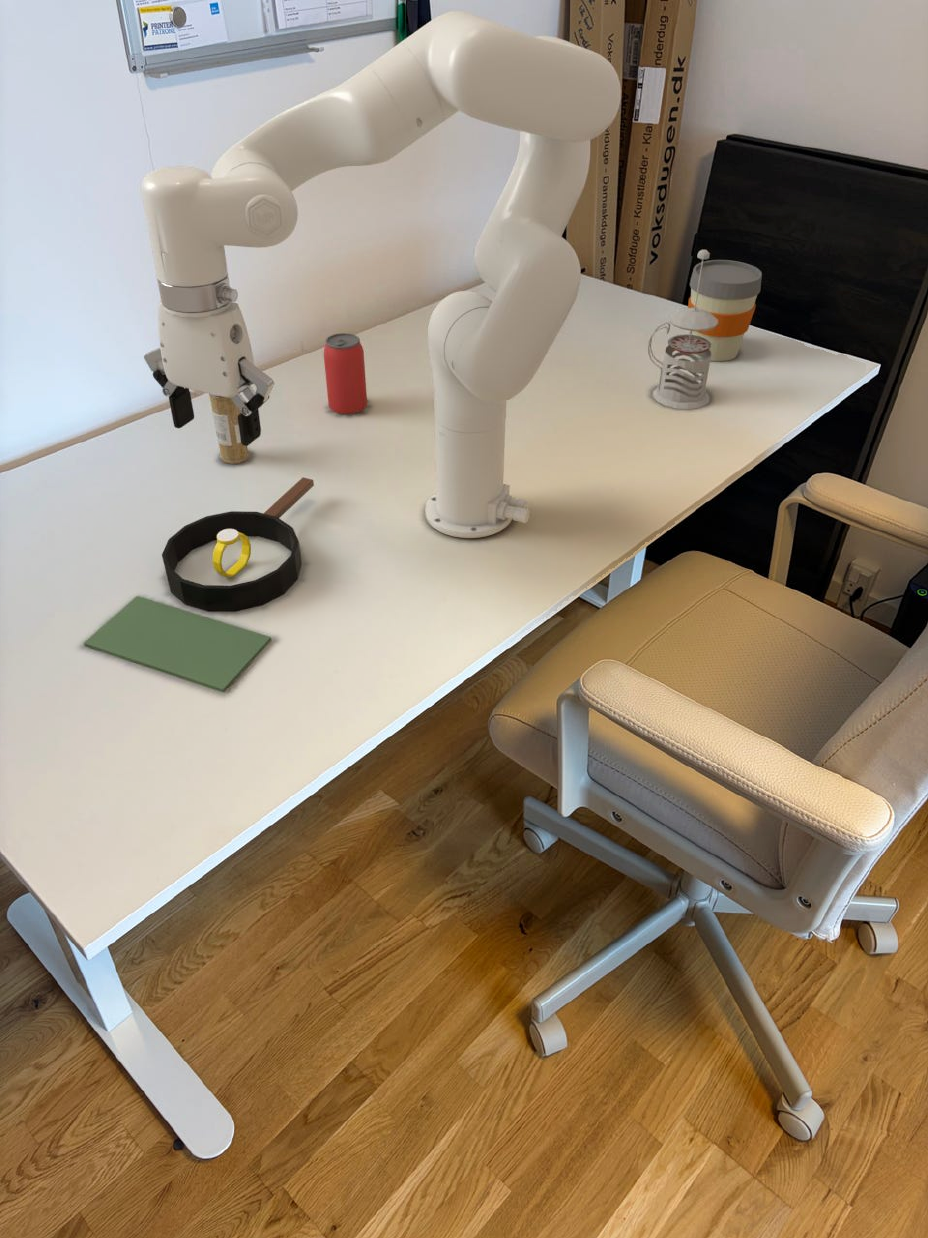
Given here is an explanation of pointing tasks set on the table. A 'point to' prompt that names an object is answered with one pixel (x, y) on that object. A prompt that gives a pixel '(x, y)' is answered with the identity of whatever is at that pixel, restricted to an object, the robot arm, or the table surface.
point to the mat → (179, 643)
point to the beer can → (345, 374)
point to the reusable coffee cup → (725, 303)
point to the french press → (680, 385)
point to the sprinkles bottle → (228, 429)
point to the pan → (249, 525)
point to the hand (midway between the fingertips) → (217, 431)
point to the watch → (223, 540)
